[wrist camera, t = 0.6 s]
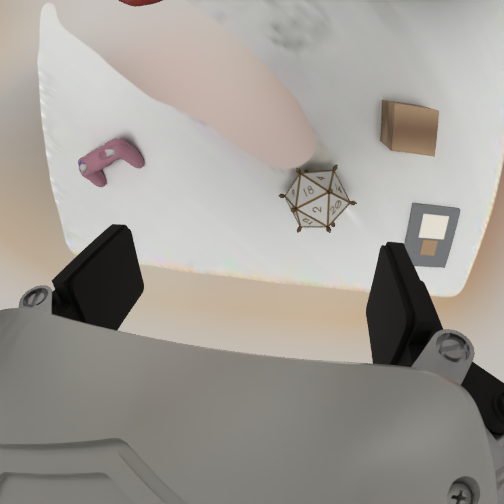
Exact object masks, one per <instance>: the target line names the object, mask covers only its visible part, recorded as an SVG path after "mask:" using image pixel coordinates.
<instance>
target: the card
mask: <svg viewBox="0 0 504 504" xmlns="http://www.w3.org/2000/svg"><path fill="white" fill-rule="evenodd" d="M459 214H460V209H459V208H452V207H444V206H436V205H427V204H417V203H412V209H411V214H410V220H409V225H408V230H407V235H406V240H405V244H404V246H405V248H406V250H407V252H408V254H409V256H410V259H411V261H412V263H413V265H414V266H425V267H443V268H445V265H446V262H447V259H448V255H449V252H450V249H451V245H452V242H453V238H454V234H455V230H456V226H457V222H458V218H459Z"/></svg>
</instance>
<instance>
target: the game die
mask: <svg viewBox="0 0 504 504" xmlns="http://www.w3.org/2000/svg"><path fill="white" fill-rule="evenodd" d="M336 169H337V165H335V166H334V167H333V170H327V171H315V172H308V171H307V170H305V171H304V172H303V173H301V170H300V169H298V168H296V172H297V173H298V174H299V175H298V177H297V178H296V180H295V181H294V183H293V184H292V186H291V187H290V189H289V190H288V192H287V193H286V195H284V194H280V195H279V197H281V198H284V197H285V198H286V200H287V202H288V204H289V206H290V208H291V212H293V214H294V216H295V218H296V220H297V222H298V224H299V227H298V229H297V232H300V231H301V230H302V229H301V228H302V227H326V230H327V232H329V233H330V231H331V229H330V227H329V226H330V225H331V226H332V227H335V223H334V220H335V219H336V218H337V217H338V216H339V215H340V214H341V213H342V212H343V211H344V209H345V208H346V207H347V206H348V205H349V204H352V205H355V204H357V203H356V202H355V201H350V200H349V198H348V196H347V194H346V193H345V191H344V189H343V187H342V185H341V183H340V181H339V179H338V177H337V175H336V173H335V170H336Z"/></svg>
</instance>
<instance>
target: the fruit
mask: <svg viewBox="0 0 504 504" xmlns="http://www.w3.org/2000/svg"><path fill="white" fill-rule="evenodd" d="M119 1H121V2H123V3H125V4H128V5H131V6H143V5H149V4H154V3H157V2H160V1H162V0H119Z"/></svg>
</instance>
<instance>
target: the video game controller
mask: <svg viewBox="0 0 504 504" xmlns="http://www.w3.org/2000/svg"><path fill="white" fill-rule="evenodd" d="M118 159H123V160H125V161H127V162H128V163H130V164H131V165H132V166H134V167H136V168H142V167H143V165H144V160H143V158H142V156H141V154H140V153H139V152H138V151H137V150H136V149H135V148H134V147H133V146H131V145H130V144H128V143H127V141H126V140H124V139H118V138H114V139H112V140H111V141H108V142H107V143H106V144H105V145H104V146H101V147H99V148H97V149H95V150H93V151H92V152H90V153H89V154H87V155H86V156H85V157H82V158H80V159H79V161H78V164H79V170H80V172H81V174H82V176H84V177H85V178H87V179H88V180H90V181H91V182H92V183H93V184H95V185H96V186H98V187H103V186H105V184H106V179H105V177H104V175H103V173H102V172H101V171H100V170H101V169H103V168H104V167H107V166H109V165H111V162H113V161H115V160H118Z"/></svg>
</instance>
